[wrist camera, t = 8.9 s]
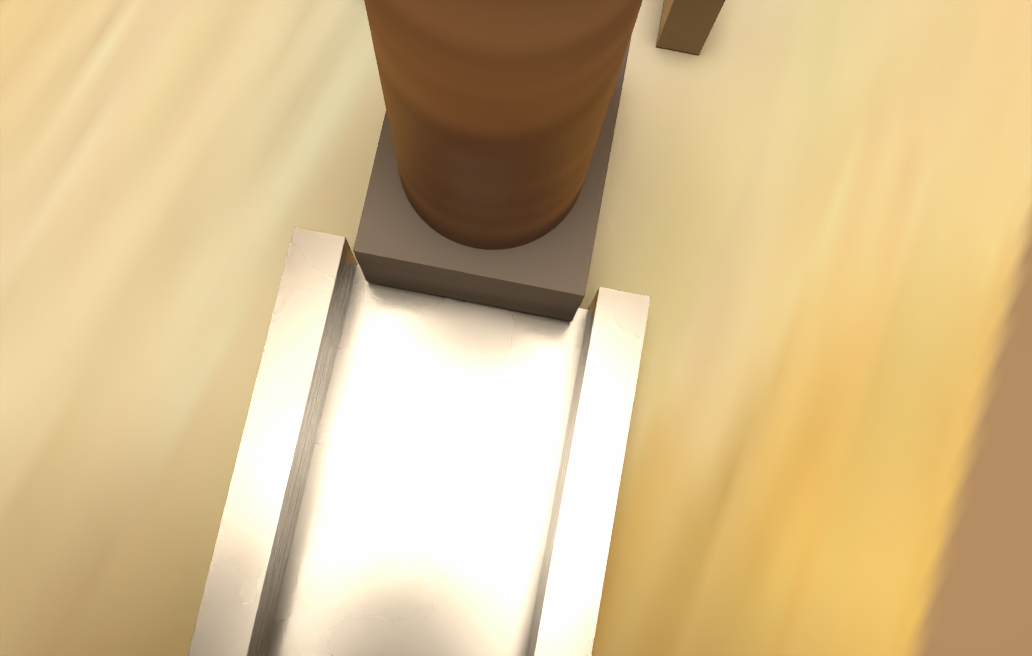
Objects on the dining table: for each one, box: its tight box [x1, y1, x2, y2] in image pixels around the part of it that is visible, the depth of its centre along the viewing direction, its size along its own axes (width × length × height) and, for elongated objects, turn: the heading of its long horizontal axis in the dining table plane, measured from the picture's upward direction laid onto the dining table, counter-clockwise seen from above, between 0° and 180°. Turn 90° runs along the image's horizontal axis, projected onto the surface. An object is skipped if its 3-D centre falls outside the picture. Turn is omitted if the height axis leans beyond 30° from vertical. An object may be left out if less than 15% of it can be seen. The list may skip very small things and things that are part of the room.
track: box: [188, 227, 651, 656], centre depth 19 cm, size 8×7×2 cm
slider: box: [353, 0, 642, 321], centre depth 15 cm, size 6×4×13 cm
